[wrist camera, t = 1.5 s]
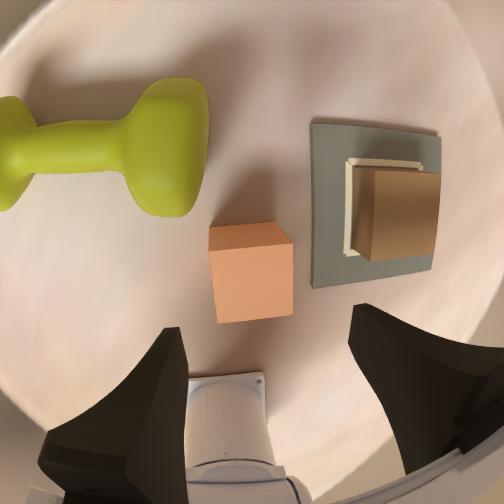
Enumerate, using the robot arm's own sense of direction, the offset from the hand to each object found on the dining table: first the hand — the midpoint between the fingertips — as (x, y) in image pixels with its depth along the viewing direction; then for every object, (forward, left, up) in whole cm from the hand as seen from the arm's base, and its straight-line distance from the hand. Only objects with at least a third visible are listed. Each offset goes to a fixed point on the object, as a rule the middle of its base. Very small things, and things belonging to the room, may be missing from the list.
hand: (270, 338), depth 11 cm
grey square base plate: (+3, -11, -10) cm, 15 cm away
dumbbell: (+9, +10, -10) cm, 17 cm away
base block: (+3, -11, -9) cm, 15 cm away
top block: (0, 0, -10) cm, 10 cm away
